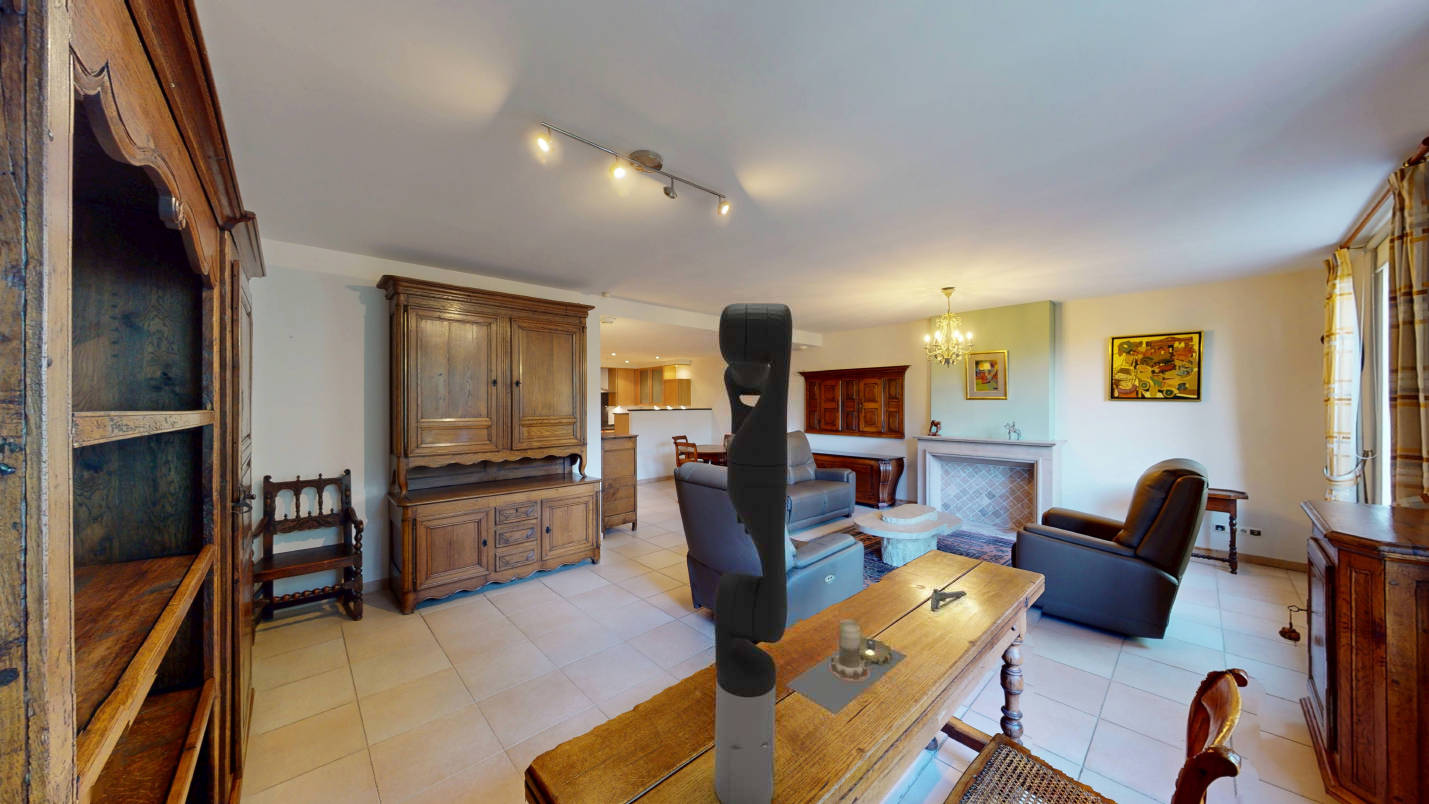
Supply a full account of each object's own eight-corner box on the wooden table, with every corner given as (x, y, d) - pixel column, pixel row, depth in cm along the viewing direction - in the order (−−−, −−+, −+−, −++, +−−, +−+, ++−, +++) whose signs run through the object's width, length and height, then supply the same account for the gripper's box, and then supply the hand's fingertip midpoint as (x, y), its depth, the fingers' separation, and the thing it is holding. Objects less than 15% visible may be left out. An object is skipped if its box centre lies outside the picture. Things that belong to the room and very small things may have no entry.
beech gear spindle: (874, 678, 100) (875, 632, 100) (839, 681, 99) (840, 634, 99) (857, 658, 108) (858, 614, 108) (825, 660, 107) (826, 616, 107)
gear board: (835, 722, 89) (835, 714, 89) (784, 692, 98) (785, 684, 98) (907, 662, 109) (907, 655, 109) (860, 641, 118) (860, 635, 118)
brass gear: (900, 664, 106) (900, 651, 106) (860, 667, 104) (860, 653, 104) (879, 642, 115) (880, 630, 115) (843, 644, 114) (843, 632, 114)
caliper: (934, 612, 135) (934, 591, 135) (930, 611, 136) (931, 589, 136) (966, 595, 148) (967, 575, 148) (963, 593, 149) (963, 574, 149)
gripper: (772, 459, 97) (770, 537, 97) (756, 450, 111) (754, 519, 111) (736, 459, 96) (734, 538, 96) (724, 450, 110) (723, 519, 110)
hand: (745, 528), depth 104 cm, fingers open, 8 cm apart
